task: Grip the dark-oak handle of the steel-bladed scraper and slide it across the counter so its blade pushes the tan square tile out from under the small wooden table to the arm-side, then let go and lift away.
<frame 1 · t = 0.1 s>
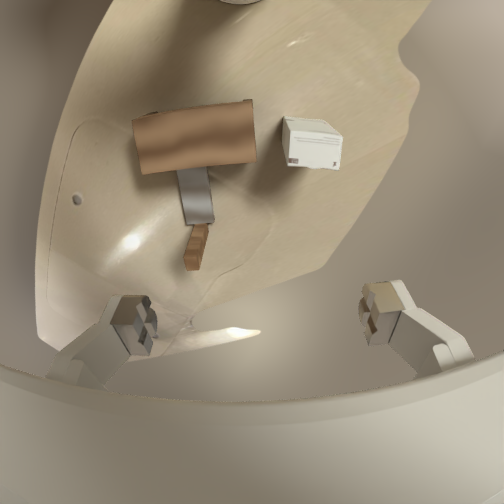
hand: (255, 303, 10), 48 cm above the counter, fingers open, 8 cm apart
small wooden table: (202, 129, 51), on the counter
scraper: (202, 226, 63), on the counter
skincare box: (301, 131, 52), on the counter
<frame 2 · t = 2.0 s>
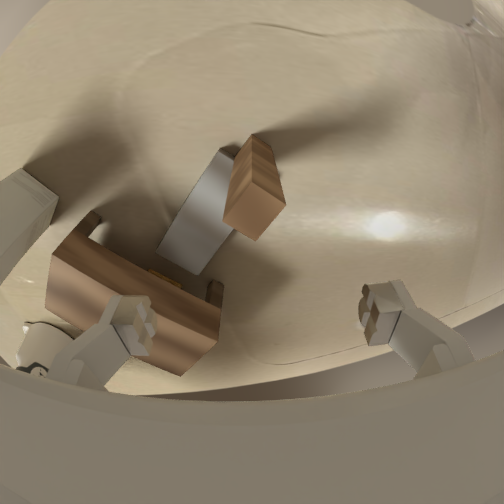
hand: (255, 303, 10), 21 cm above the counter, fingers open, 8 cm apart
small wooden table: (142, 274, 37), on the counter
scraper: (252, 152, 28), on the counter
skincare box: (37, 196, 30), on the counter
tan square tile: (160, 285, 39), on the counter
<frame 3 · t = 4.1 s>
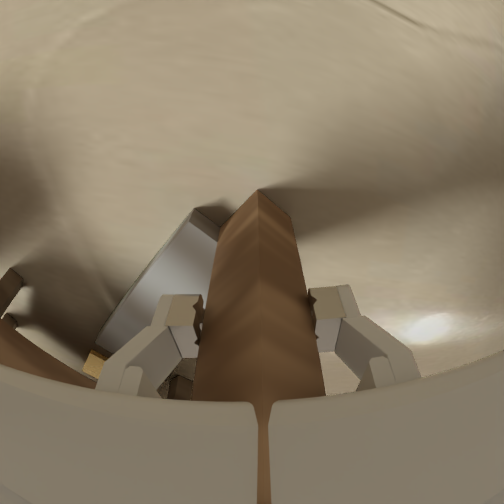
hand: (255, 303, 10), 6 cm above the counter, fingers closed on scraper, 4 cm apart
small wooden table: (85, 352, 23), on the counter
scraper: (255, 222, 16), on the counter, touching gripper
tan square tile: (109, 365, 26), on the counter
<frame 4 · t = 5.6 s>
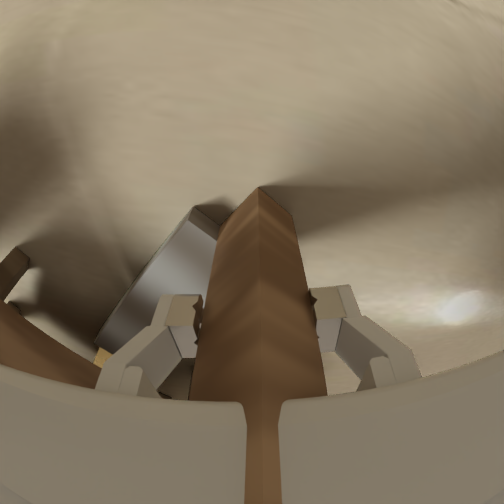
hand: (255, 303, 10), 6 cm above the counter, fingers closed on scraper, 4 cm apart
small wooden table: (96, 343, 22), on the counter
scraper: (255, 220, 15), on the counter, touching gripper
tan square tile: (123, 357, 24), on the counter
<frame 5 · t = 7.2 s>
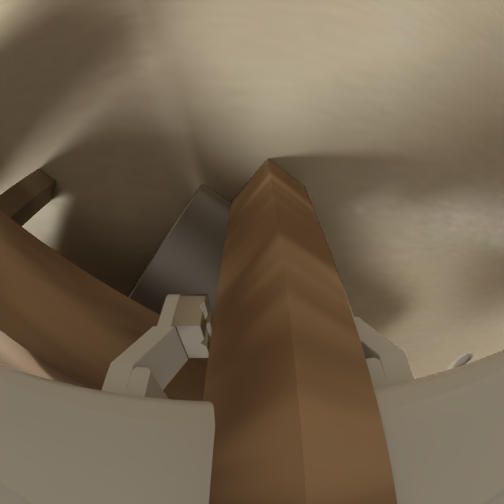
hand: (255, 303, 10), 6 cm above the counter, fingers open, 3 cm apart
small wooden table: (136, 299, 19), on the counter
scraper: (267, 194, 14), on the counter, touching gripper
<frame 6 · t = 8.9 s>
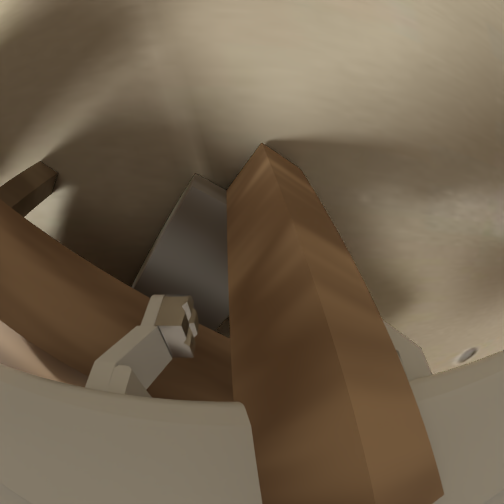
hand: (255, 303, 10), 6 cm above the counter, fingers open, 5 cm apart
small wooden table: (139, 293, 19), on the counter
scraper: (263, 179, 14), on the counter, tilted 6°, touching gripper
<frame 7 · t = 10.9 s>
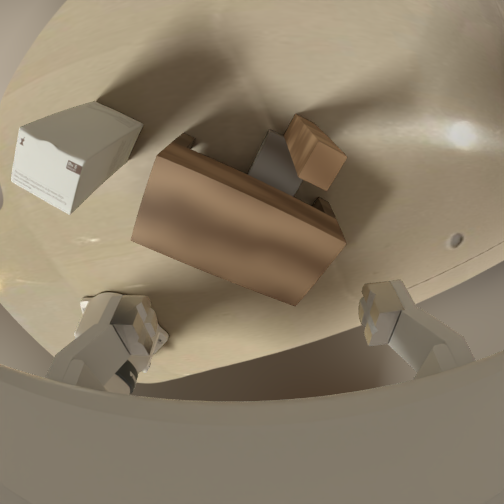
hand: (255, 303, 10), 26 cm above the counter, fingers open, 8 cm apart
small wooden table: (241, 200, 36), on the counter
scraper: (298, 129, 30), on the counter
skincare box: (113, 130, 31), on the counter
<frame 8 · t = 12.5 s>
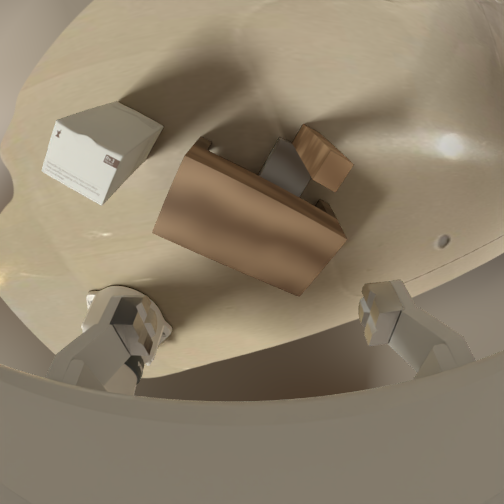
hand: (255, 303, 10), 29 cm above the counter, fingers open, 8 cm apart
small wooden table: (250, 200, 40), on the counter
scraper: (305, 137, 34), on the counter
skincare box: (133, 129, 34), on the counter
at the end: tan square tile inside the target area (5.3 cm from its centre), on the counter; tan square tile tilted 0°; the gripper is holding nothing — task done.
